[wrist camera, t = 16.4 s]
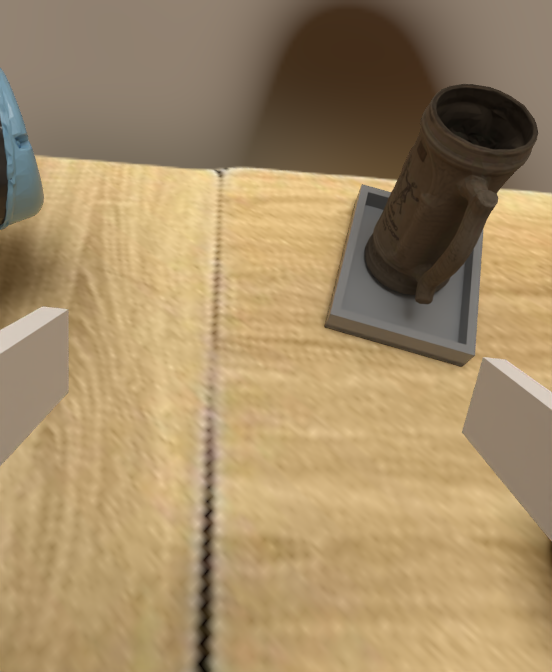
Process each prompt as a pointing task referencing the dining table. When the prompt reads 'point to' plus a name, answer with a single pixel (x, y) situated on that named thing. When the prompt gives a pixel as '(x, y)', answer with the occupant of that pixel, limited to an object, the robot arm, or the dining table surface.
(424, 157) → the beer stein
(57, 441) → the dining table surface
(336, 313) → the tray
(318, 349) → the dining table surface
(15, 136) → the robot arm
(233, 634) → the dining table surface
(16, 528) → the dining table surface
